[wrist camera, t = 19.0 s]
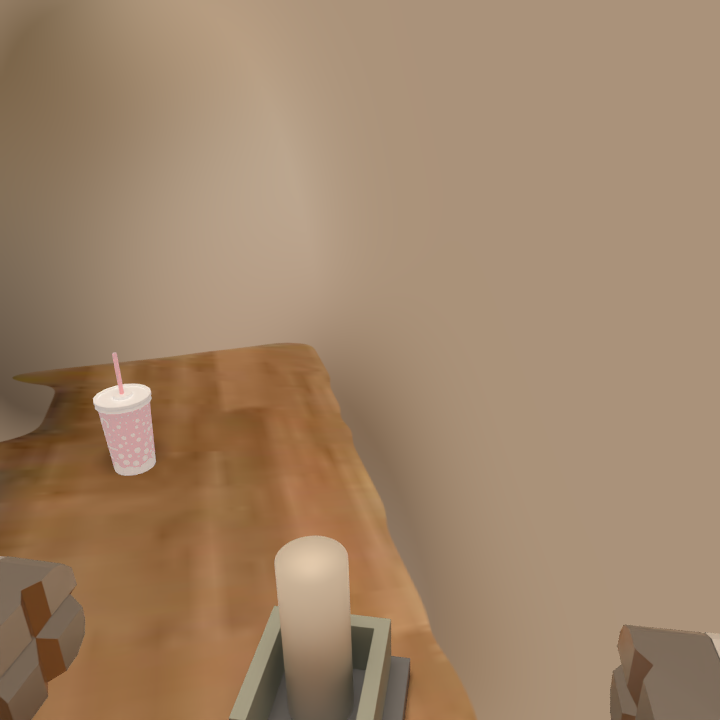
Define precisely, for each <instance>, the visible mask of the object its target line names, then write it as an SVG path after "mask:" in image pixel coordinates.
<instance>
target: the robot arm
mask: <svg viewBox="0 0 720 720" xmlns="http://www.w3.org/2000/svg"><path fill="white" fill-rule="evenodd" d="M76 585H77V584H76V581H75V577H74V574H73V571H72V568H71V567H69V566H66V565H64V564H60V563H52V562H45V561H38V560H30V559H23V558H16V557H8V556H7V557H3V556H0V720H31V719H32V718H33V717H34V715H35V714H36V713H37V711H38V710H39V708H40V707H41V706H42V704H43V703H44V701H45V700H46V699H47V697H48V682H49V681H51V680H52V679H54V678H56V677H57V676H59V675H60V674H62V673H64V672H65V671H67V669H68V668H69V666H70V665H71V663H72V662H73V660H74V659H75V657H76V656H77V655H78V652H79V649H80V646H81V643H82V640H83V638H84V635H85V617H84V612H83V608H82V606H81V605H80V604H79V603H78V602H77V601H76V600H75V599H74V598H73V597H72V596H71V593H72V591H73V590H74V588H75V586H76ZM617 647H618V651H619V655H620V659H621V663H622V665H620V666H619V667H618V668H616V669H615V670H614V671H613V675H612V683H611V689H610V713H611V720H720V634H716V633H706V632H705V633H701V632H692V631H683V630H673V629H663V628H653V627H642V626H633V625H623V627H622V629H621V631H620V635H619V641H618V646H617Z"/></svg>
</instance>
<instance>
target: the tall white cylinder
mask: <svg viewBox="0 0 720 720" xmlns="http://www.w3.org/2000/svg"><path fill="white" fill-rule="evenodd" d="M275 574H276V585H277V595H278V605H279V616H280V626H281V637H282V647H283V657H284V668H285V678H286V688H287V699H288V709H289V714H290V716H291V718H292V720H347V719H348V718H349V716H350V715H351V713H352V710H353V706H354V691H353V666H352V641H351V617H350V592H349V567H348V554H347V551H346V549H345V548H344V546H343V545H342V544H340V543H339V542H338V541H336V540H334V539H331V538H328V537H324V536H306V537H301V538H298V539H295V540H293V541H291V542H289V543H287V544H286V545H285V546H283V547H282V548H281V549H280V550H279V552H278V553H277V555H276V557H275Z"/></svg>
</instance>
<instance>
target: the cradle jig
mask: <svg viewBox="0 0 720 720" xmlns="http://www.w3.org/2000/svg"><path fill="white" fill-rule="evenodd" d="M350 617H351V641H352V666H353V691H354V706H353V710H352V713H351V715H350V716H349V718H348V719H347V720H404V718H405V710H406V701H407V693H408V685H409V677H410V658H403V657H395V656H391V619H386V618H377V617H368V616H360V615H351V614H350ZM229 720H292V718H291V716H290V714H289V709H288V699H287V688H286V678H285V668H284V657H283V647H282V637H281V626H280V616H279V606H274V608H273V610H272V613H271V615H270V618H269V620H268V623H267V625H266V628H265V630H264V633H263V635H262V638H261V640H260V643H259V645H258V647H257V650H256V652H255V655H254V657H253V660H252V662H251V665H250V667H249V670H248V672H247V675H246V677H245V680H244V682H243V685H242V687H241V690H240V692H239V695H238V697H237V700H236V702H235V705H234V707H233V709H232V712H231V714H230V717H229Z"/></svg>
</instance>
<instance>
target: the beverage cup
mask: <svg viewBox="0 0 720 720" xmlns="http://www.w3.org/2000/svg"><path fill="white" fill-rule="evenodd" d="M112 356H113V361H114V367H115V372H116V377H117V382H118V385H117V386H113V387H110V388H107V389H105V390H103V391H101V392H99V393H97V394H96V396H95V397H94V398H93V403H94V405H95V409H96V410H97V411H98V412H99V416H100V419H101V423H102V426H103V430H104V433H105V437H106V441H107V444H108V448H109V451H110V455H111V458H112V462H113V465H114V469H115V471H116V472H117V473H118V474H121V475H136V474H141V473H143V472H146V471H148V470H149V469H151V468H152V467H153V466H154V465H155V463H156V459H155V449H154V439H153V429H152V419H151V409H150V400H151V399H152V398H151V391H150V388H149V387H147V386H145V385H141V384H123V385H122V379H121V374H120V369H119V363H118V358H117V353H116V352H114V353H112Z"/></svg>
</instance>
